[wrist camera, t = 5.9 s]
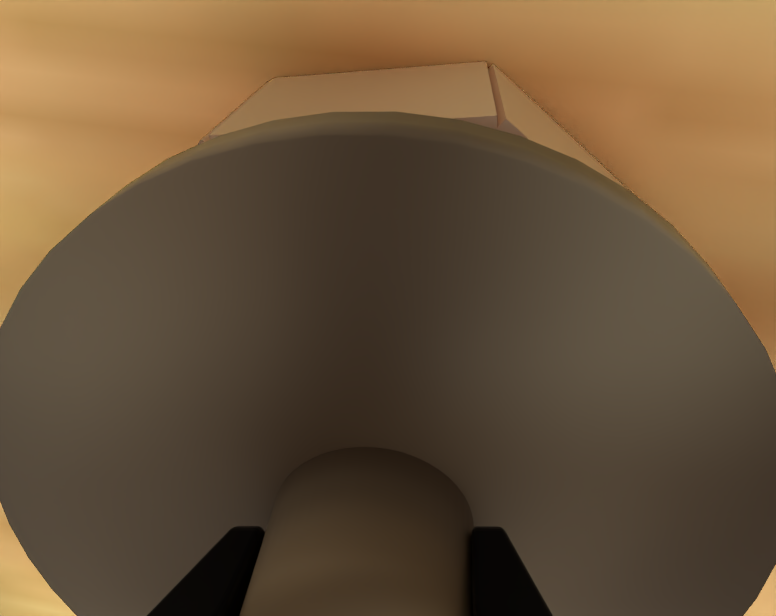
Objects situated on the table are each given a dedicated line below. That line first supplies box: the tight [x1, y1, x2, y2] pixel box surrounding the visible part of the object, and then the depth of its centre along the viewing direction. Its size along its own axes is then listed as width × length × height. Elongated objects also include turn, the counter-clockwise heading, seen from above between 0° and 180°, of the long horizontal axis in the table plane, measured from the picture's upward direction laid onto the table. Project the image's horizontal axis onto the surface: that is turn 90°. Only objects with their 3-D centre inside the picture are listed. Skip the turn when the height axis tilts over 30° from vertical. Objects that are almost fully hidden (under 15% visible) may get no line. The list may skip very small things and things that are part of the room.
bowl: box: [198, 61, 627, 189], centre depth 14 cm, size 10×10×4 cm
